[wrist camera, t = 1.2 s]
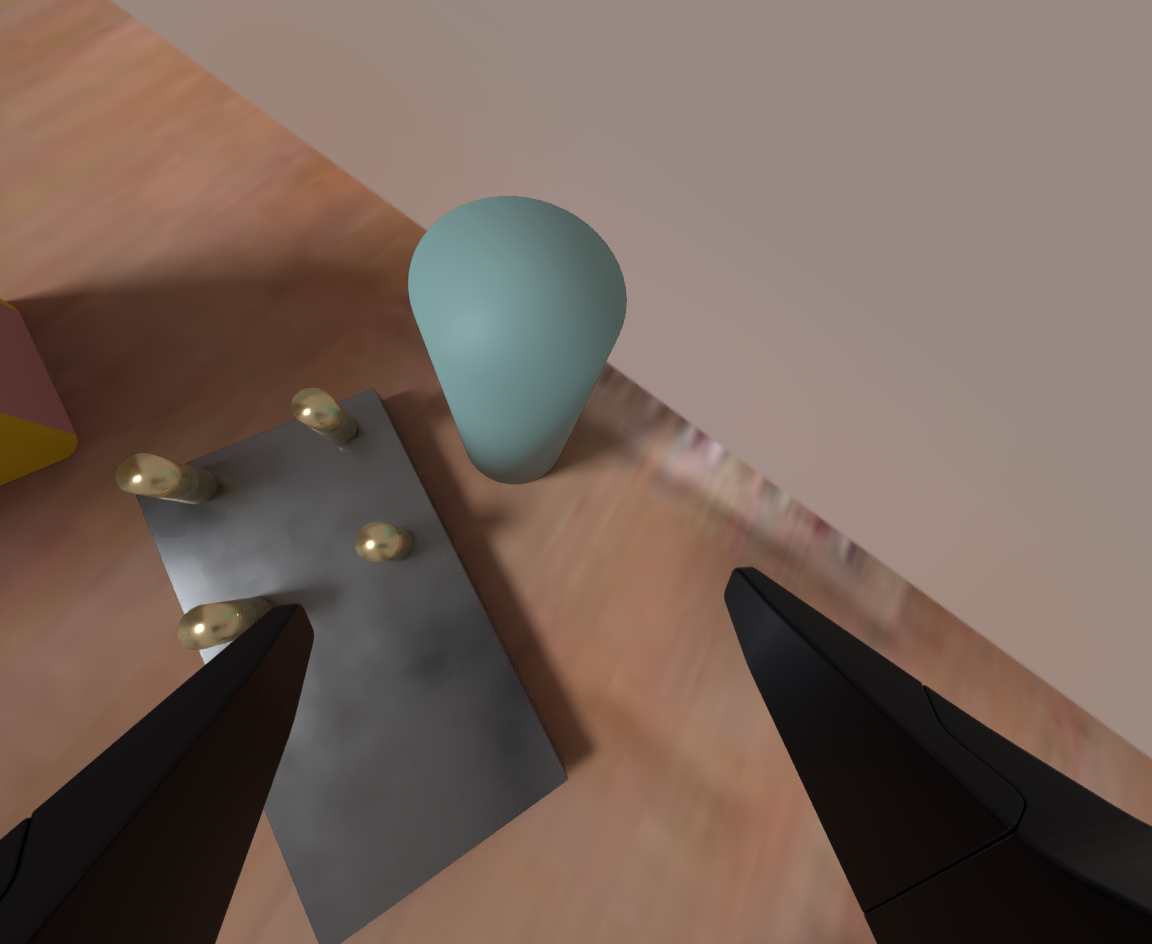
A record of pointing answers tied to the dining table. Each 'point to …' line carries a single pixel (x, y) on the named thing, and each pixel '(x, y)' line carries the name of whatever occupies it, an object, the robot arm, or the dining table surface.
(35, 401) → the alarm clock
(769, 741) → the dining table surface
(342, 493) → the plate
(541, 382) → the teal rounded cylinder
